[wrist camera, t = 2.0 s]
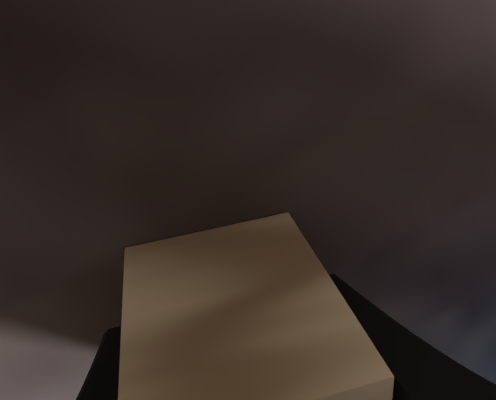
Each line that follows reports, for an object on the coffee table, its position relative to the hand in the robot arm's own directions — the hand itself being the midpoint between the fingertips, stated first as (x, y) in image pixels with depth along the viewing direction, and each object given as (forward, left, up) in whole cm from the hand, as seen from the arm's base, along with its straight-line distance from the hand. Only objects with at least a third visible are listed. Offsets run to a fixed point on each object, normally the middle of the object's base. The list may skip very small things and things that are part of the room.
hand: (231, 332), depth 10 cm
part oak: (0, 0, -1) cm, 1 cm away
